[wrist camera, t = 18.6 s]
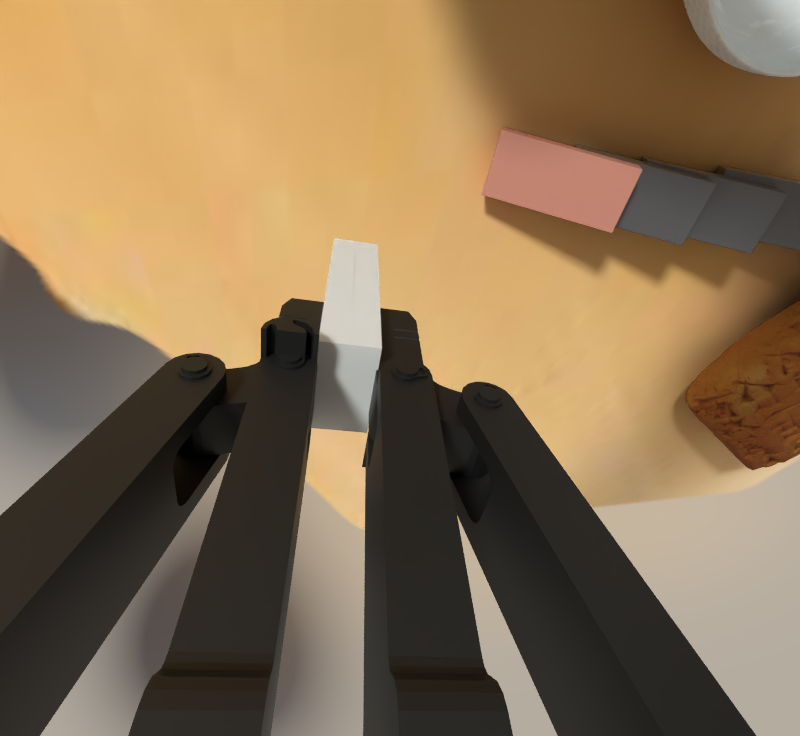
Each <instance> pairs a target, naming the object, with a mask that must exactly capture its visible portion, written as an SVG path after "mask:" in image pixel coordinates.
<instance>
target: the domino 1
mask: <svg viewBox="0 0 800 736" xmlns="http://www.w3.org/2000/svg"><path fill="white" fill-rule="evenodd" d="M642 170H643V169H642V168H641V167H640V166H639V165H637V164H633V163H630V162H626V161H623V160H619V159H616V158H612V157H608V156H605V155H601V154H598V153H594V152H591V151H587V150H584V149H580V148H576V147H573V146H569V145H566V144H562V143H559V142H555V141H552V140H548V139H544V138H541V137H537V136H534V135H530V134H527V133H523V132H520V131H516V130H512V129H509V128H505V127H503V129H502V130H501V134H500V137H499V140H498V143H497V147H496V150H495V153H494V156H493V160H492V163H491V166H490V169H489V172H488V176H487V179H486V182H485V185H484V189H483V192H482V195H485V196H488V197H491V198H495V199H498V200H501V201H505V202H508V203H512V204H515V205H518V206H522V207H525V208H529V209H532V210H535V211H539V212H542V213H545V214H549V215H552V216H556V217H559V218H562V219H566V220H569V221H572V222H576V223H579V224H583V225H586V226H589V227H593V228H596V229H600V230H603V231H606V232H610V233H612V232H613V230H614V228H615V226H616V224H617V222H618V220H619V218H620V215H621V213H622V211H623V209H624V207H625V205H626V203H627V201H628V199H629V197H630V195H631V193H632V191H633V189H634V187H635V185H636V183H637V180H638V178H639V176H640V174H641V172H642Z"/></svg>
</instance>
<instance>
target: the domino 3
mask: <svg viewBox="0 0 800 736" xmlns="http://www.w3.org/2000/svg"><path fill="white" fill-rule="evenodd" d="M642 161H643V162H646V163H650V164H654V165H658V166H662V167H665V168H669V169H673V170H677V171H681V172H684V173H688V174H692V175H696V176H699V177H703V178H707V179H710V180H711V181H713V182H714V183H716V186H715V188H714V190H713V191H712V193H711V195H710V197H709V199H708V200H707V202H706V204H705V206H704V207H703V209H702V211H701V213H700V215H699V216H698V218H697V220H696V222H695V223H694V225H693V227H692V229H691V230H690V232H689V234H688V236H687V238H691V239H695V240H699V241H703V242H707V243H711V244H715V245H718V246H722V247H726V248H730V249H734V250H738V251H742V252H746V253H750V254H751V253H752V251H753V249H754V248H755V246H756V245H757V243H758V241H759V240H760V238H761V237H762V235H763V234H764V232H765V230H766V229H767V227H768V226H769V224H770V222H771V221H772V219H773V218H774V216H775V215H776V213H777V211H778V210H779V208H780V207H781V205H782V203H783V202H784V200H785V199H786V197H787V196H788V194H787V193H785V192H783V191H782V190H780V189H777V188H773V187H769V186H765V185H760V184H756V183H752V182H748V181H744V180H739V179H735V178H731V177H727V176H723V175H718V174H714V173H710V172H706V171H702V170H698V169H693V168H689V167H685V166H681V165H677V164H672V163H668V162H664V161H660V160H656V159H651V158H647V157H644V158H643V160H642Z"/></svg>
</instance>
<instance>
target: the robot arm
mask: <svg viewBox="0 0 800 736" xmlns="http://www.w3.org/2000/svg"><path fill="white" fill-rule="evenodd" d="M368 423H369V432H368V438H367V443H366V448H365V454H364V459H363V465H362V467H366V490H365V607H364V612H365V613H364V724H363V727H364V728H363V736H513V734H512V729H511V724H510V719H509V714H508V710H507V706H506V702H505V699H504V695H503V692H502V690H501V688H500V686H499V684H498V682H497V681H496V680H495V679H493V678H492V677H491V676H489V675H488V674H487V672H486V669H485V667H484V663H483V659H482V654H481V649H480V643H479V637H478V631H477V626H476V620H475V614H474V609H473V603H472V598H471V592H470V587H469V581H468V575H467V569H466V564H465V558H464V553H463V547H462V542H461V536H460V530H459V524H458V519H457V515H458V517H459V520H460V522H461V524H462V526H463V528H464V531H465V533H466V535H467V537H468V539H469V541H470V544H471V546H472V548H473V550H474V552H475V555H476V557H477V559H478V561H479V563H480V566H481V568H482V570H483V572H484V574H485V577H486V579H487V581H488V583H489V586H490V587H491V590H492V592H493V594H494V597H495V599H496V601H497V603H498V605H499V608H500V610H501V612H502V614H503V616H504V618H505V621H506V623H507V625H508V627H509V630H510V632H511V634H512V636H513V638H514V640H515V643H516V645H517V647H518V649H519V652H520V654H521V656H522V658H523V660H524V662H525V665H526V667H527V669H528V671H529V673H530V675H531V678H532V680H533V682H534V685H535V687H536V689H537V691H538V693H539V696H540V698H541V700H542V702H543V704H544V706H545V709H546V711H547V713H548V715H549V717H550V720H551V722H552V724H553V726H554V729H555V731H556V733H557V735H558V736H756V735H755V733H754V732H753V731H752V729H751V728H750V727H749V725H748V724H747V722H746V721H745V720H744V718H743V717H742V715H741V714H740V713H739V711H738V710H737V708H736V707H735V706H734V704H733V703H732V702H731V700H730V699H729V697H728V696H727V695H726V693H725V692H724V691H723V689H722V688H721V686H720V685H719V683H718V682H717V681H716V679H715V678H714V677H713V675H712V674H711V672H710V671H709V670H708V668H707V667H706V666H705V664H704V663H703V661H702V660H701V659H700V657H699V656H698V654H697V653H696V652H695V650H694V649H693V647H692V646H691V645H690V643H689V642H688V641H687V639H686V638H685V636H684V635H683V634H682V632H681V631H680V629H679V628H678V627H677V625H676V624H675V623H674V621H673V620H672V618H671V617H670V616H669V614H668V613H667V612H666V610H665V609H664V607H663V606H662V604H661V603H660V602H659V600H658V599H657V598H656V596H655V595H654V593H653V592H652V591H651V589H650V588H649V587H648V585H647V584H646V582H645V581H644V580H643V578H642V577H641V575H640V574H639V573H638V571H637V570H636V568H635V567H634V566H633V564H632V563H631V562H630V560H629V559H628V558H627V556H626V555H625V553H624V552H623V551H622V549H621V548H620V546H619V545H618V544H617V542H616V541H615V539H614V538H613V537H612V535H611V534H610V532H609V531H608V530H607V528H606V527H605V525H604V524H603V523H602V521H601V520H600V519H599V517H598V516H597V514H596V513H595V512H594V510H593V509H592V507H591V506H590V505H589V503H588V502H587V501H586V499H585V498H584V496H583V495H582V494H581V492H580V491H579V489H578V488H577V487H576V485H575V484H574V483H573V481H572V480H571V478H570V477H569V476H568V474H567V473H566V471H565V470H564V469H563V467H562V466H561V465H560V463H559V462H558V460H557V459H556V458H555V456H554V455H553V453H552V452H551V451H550V449H549V448H548V447H547V445H546V444H545V442H544V441H543V440H542V438H541V437H540V435H539V434H538V433H537V431H536V430H535V428H534V427H533V426H532V424H531V423H530V422H529V420H528V419H527V417H526V416H525V415H524V413H523V412H522V410H521V409H520V408H519V406H518V405H517V404H516V402H515V401H514V399H513V398H512V397H511V396H510V395H509V394H508V393H507V392H506V391H505V390H503V389H502V388H500V387H498V386H496V385H493V384H490V383H486V382H474V383H469V384H467V385H466V386H465V387H463V390H462V393H461V392H458V391H454V390H451V389H448V388H446V387H443V386H441V385H439V384H437V383H436V382H434V381H433V378H432V375H431V373H430V370H429V369H428V368H427V367H426V366H424V365H423V360H422V354H421V348H420V342H419V335H418V329H417V323H416V320H415V319H414V318H413V317H412V316H411V314H410V313H409V312H406V311H398V310H390V309H383V308H380V291H379V268H378V245H377V244H371V243H364V242H358V241H351V240H344V239H337V238H334V242H333V249H332V255H331V261H330V268H329V274H328V281H327V287H326V293H325V300H324V302H318V301H310V300H302V299H294V298H292V299H290V300H289V301H288V302H286V303H285V304H284V305H282V308H281V311H280V315H279V318H275V319H272V320H270V321H268V322H266V323H265V324H264V325H263V326H262V328H261V359H260V362H258V363H256V364H254V365H251V366H248V367H242V368H233V369H226V368H225V364H224V363H223V362H222V361H221V360H220V359H219V358H217V357H214V356H212V355H209V354H202V353H192V354H185V355H181V356H178V357H175V358H173V359H172V360H170V361H169V362H167V363H166V364H165V365H164V366H163V367H161V368H160V369H159V370H158V371H157V372H156V373H155V374H154V375H153V376H152V377H151V378H149V379H148V380H147V381H146V382H145V383H144V384H143V385H142V386H141V387H140V388H139V389H138V390H136V391H135V392H134V393H133V394H132V395H131V396H130V397H129V398H128V399H127V400H126V401H124V402H123V403H122V404H121V405H120V406H119V407H118V408H117V409H116V410H115V411H114V412H112V413H111V414H110V415H109V416H108V417H107V418H106V419H105V420H104V421H103V422H102V423H100V424H99V425H98V426H97V427H96V428H95V429H94V430H93V431H92V432H91V433H90V434H89V435H87V436H86V437H85V438H84V439H83V440H82V441H81V442H80V443H79V444H78V445H77V446H75V447H74V448H73V449H72V450H71V451H70V452H69V453H68V454H67V455H66V456H65V457H64V458H63V459H61V460H60V461H59V462H58V463H57V464H56V465H55V466H54V467H53V468H52V469H50V470H49V471H48V472H47V473H46V474H45V475H44V476H43V477H42V478H41V479H40V480H39V481H38V482H36V483H35V484H34V485H33V486H32V487H31V488H30V489H29V490H28V491H27V492H26V493H25V494H23V495H22V496H21V497H20V498H19V499H18V500H17V501H16V502H15V503H14V504H12V506H10V507H9V508H8V509H7V510H6V511H5V512H4V513H3V514H2V515H1V516H0V736H40V735H41V733H42V732H43V730H44V729H45V727H46V726H47V724H48V723H49V721H50V720H51V718H52V717H53V715H54V714H55V712H56V711H57V709H58V708H59V706H60V705H61V704H62V702H63V701H64V699H65V698H66V696H67V695H68V693H69V692H70V690H71V689H72V688H73V686H74V685H75V683H76V682H77V680H78V679H79V677H80V676H81V674H82V673H83V671H84V670H85V668H86V667H87V665H88V664H89V662H90V661H91V660H92V658H93V657H94V655H95V654H96V652H97V650H98V649H99V648H100V646H101V645H102V643H103V642H104V640H105V639H106V637H107V636H108V634H109V633H110V632H111V630H112V629H113V627H114V626H115V624H116V623H117V621H118V620H119V618H120V617H121V615H122V614H123V612H124V611H125V610H126V608H127V607H128V605H129V604H130V602H131V601H132V599H133V598H134V596H135V594H136V593H137V592H138V590H139V589H140V587H141V586H142V584H143V583H144V582H145V580H146V578H147V577H148V576H149V574H150V573H151V571H152V570H153V568H154V567H155V565H156V564H157V562H158V561H159V559H160V558H161V557H162V555H163V553H164V552H165V551H166V549H167V548H168V546H169V544H170V543H171V542H172V540H173V539H174V537H175V536H176V534H177V533H178V531H179V530H180V529H181V527H182V526H183V524H184V523H185V521H186V520H187V518H188V517H189V515H190V513H191V512H192V511H193V509H194V508H195V506H196V505H197V503H198V502H199V501H200V499H201V498H202V496H203V495H204V493H205V492H206V490H207V489H208V487H209V486H210V484H211V483H212V481H213V480H214V478H215V477H216V476H217V474H218V473H219V471H220V469H221V468H222V467H223V465H224V464H225V462H226V461H227V458H228V456H229V453H231V455H230V458H229V461H228V464H227V467H226V470H225V473H224V476H223V480H222V483H221V486H220V489H219V492H218V495H217V499H216V502H215V505H214V508H213V512H212V515H211V518H210V521H209V524H208V527H207V531H206V534H205V538H204V540H203V543H202V546H201V550H200V553H199V556H198V559H197V562H196V565H195V569H194V572H193V575H192V578H191V581H190V584H189V588H188V591H187V594H186V597H185V600H184V604H183V607H182V610H181V613H180V616H179V619H178V623H177V626H176V629H175V632H174V635H173V638H172V642H171V645H170V648H169V651H168V654H167V657H166V659H165V662H164V664H163V666H162V668H161V669H160V670H159V671H158V672H157V673H156V674H154V675H153V676H152V677H151V679H150V681H149V683H148V685H147V686H146V688H145V690H144V693H143V696H142V698H141V701H140V703H139V706H138V709H137V712H136V714H135V718H134V720H133V723H132V726H131V730H130V732H129V736H270V735H271V728H272V719H273V712H274V705H275V698H276V690H277V683H278V676H279V668H280V660H281V653H282V646H283V638H284V631H285V622H286V616H287V609H288V601H289V593H290V586H291V579H292V571H293V564H294V556H295V549H296V542H297V541H296V540H297V534H298V527H299V519H300V512H301V504H302V497H303V490H304V482H305V475H306V467H307V460H308V452H309V445H310V435H311V428H320V429H332V430H343V431H354V432H365V433H367V429H368Z"/></svg>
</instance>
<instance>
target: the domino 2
mask: <svg viewBox="0 0 800 736" xmlns="http://www.w3.org/2000/svg"><path fill="white" fill-rule="evenodd" d="M574 147H576V148H580V149H584V150H587V151H591V152H594V153H598V154H601V155H605V156H608V157H612V158H616V159H619V160H623V161H626V162H630V163H633V164H637V165H639V166H640V167H641V168H642V169H643V170H642V172H641V174H640V176H639V178H638V180H637V183H636V185H635V187H634V189H633V191H632V193H631V195H630V197H629V199H628V201H627V203H626V205H625V207H624V209H623V211H622V213H621V215H620V218H619V220H618V222H617V224H616V226H615V227H618V228H621V229H625V230H629V231H632V232H636V233H639V234H643V235H647V236H650V237H654V238H657V239H661V240H665V241H668V242H672V243H675V244H679V245H683V243H684V241H685V239H686V238H687V236H688V234H689V232H690V230H691V229H692V227H693V225H694V223H695V222H696V220H697V218H698V216H699V215H700V213H701V211H702V209H703V207H704V206H705V204H706V202H707V200H708V199H709V197H710V195H711V193H712V191H713V190H714V188H715V186H716V183H714V182H713V181H711V180H710V179H707V178H703V177H699V176H696V175H692V174H688V173H684V172H681V171H677V170H673V169H669V168H665V167H662V166H658V165H654V164H650V163H646V162H643V161H639V160H635V159H631V158H627V157H624V156H620V155H616V154H612V153H608V152H605V151H601V150H597V149H593V148H589V147H586V146H582V145H578V144H575V146H574Z"/></svg>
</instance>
